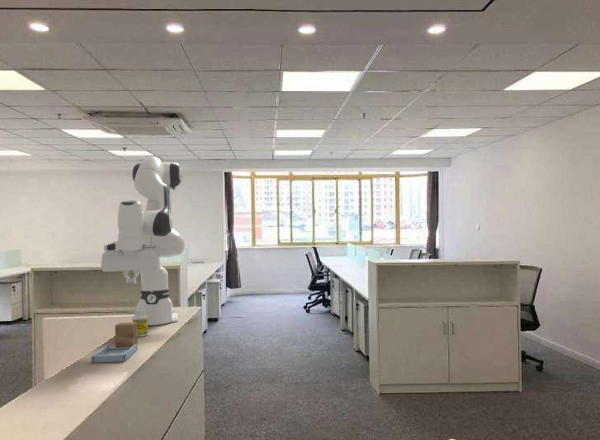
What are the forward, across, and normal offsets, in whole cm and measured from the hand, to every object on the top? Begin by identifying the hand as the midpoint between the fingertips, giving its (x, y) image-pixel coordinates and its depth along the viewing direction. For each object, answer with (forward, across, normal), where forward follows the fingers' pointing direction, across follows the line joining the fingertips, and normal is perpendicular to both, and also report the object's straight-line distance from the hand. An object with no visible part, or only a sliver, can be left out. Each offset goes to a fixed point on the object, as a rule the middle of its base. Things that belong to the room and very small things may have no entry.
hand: (131, 283), depth 164 cm
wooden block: (+21, 0, +7) cm, 22 cm away
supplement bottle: (+21, 0, -10) cm, 24 cm away
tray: (+21, 0, +18) cm, 28 cm away
